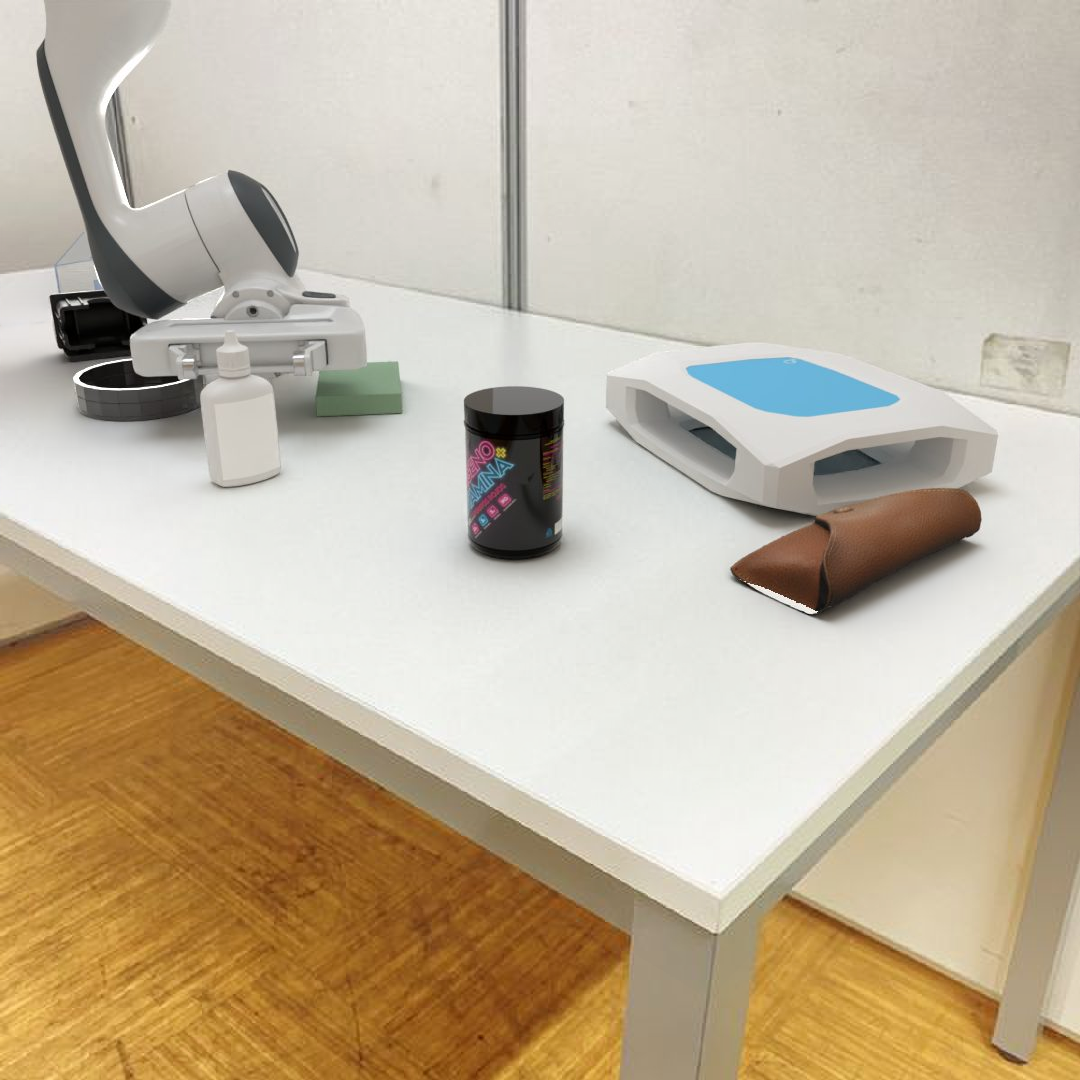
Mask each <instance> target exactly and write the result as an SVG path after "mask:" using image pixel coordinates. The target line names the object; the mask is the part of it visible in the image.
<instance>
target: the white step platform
mask: <svg viewBox="0 0 1080 1080" xmlns="http://www.w3.org/2000/svg"><path fill="white" fill-rule="evenodd" d="M605 389H606V390H605V392H606V393H605V408H606V410H608V412H609V413H610V414H611V415H612V416H613V417H614V419H616V421H617V422H618V423H619V424H620V426H622V428H623V429H624V430H625V432H627V433H628V434H629V435H630V437H631V438H632V439H633V440H634V441H635V442H636V443H637V444H639V445H640V446H642V447H644V448H645V449H646V450H648V451H649V452H650V453H652V454H654V455H656V456H657V457H658V458H660V459H662V460H663V461H665V462H666V463H668V464H669V465H671V466H672V467H673V468H675V469H677V470H678V471H680V472H681V473H683V474H684V475H686V476H688V477H689V478H691V479H692V480H694V481H695V482H696V483H699V484H700V485H701V486H702V487H704V488H706V489H707V490H708V491H710V492H713V493H714V494H717V495H719V496H722V497H726V498H730V499H734V500H738V501H742V502H746V503H750V504H754V505H759V506H764V507H768V508H773V509H777V510H783V511H786V512H787V511H788V512H793V513H798V514H802V515H809V516H814V517H816V516H818V515H821V514H824V513H827V512H829V511H831V510H834V509H836V508H839V507H842V506H845V505H849V504H853V503H858V502H863V501H866V500H870V499H874V498H878V497H880V496H885V495H889V494H894V493H899V492H904V491H910V490H918V489H930V488H958V489H961V488H962V487H964V486H966V485H969V484H971V483H973V482H975V481H976V480H978V479H981V478H983V477H985V476H987V475H989V474H991V473H993V468H994V461H995V455H996V449H997V444H998V437H999V434H998V430H997V429H995V428H994V427H993V426H991V425H990V424H988V423H987V422H986V421H984V420H983V419H981V418H980V417H979V416H978V415H976V414H974V413H973V412H972V411H971V410H969V409H968V408H967V407H965V406H964V405H962V404H961V403H960V402H958V401H957V400H955V399H954V398H953V397H951V396H950V395H949V394H948V393H946V392H944V391H943V390H939V389H936V388H934V387H932V386H929V385H927V384H924V383H921V382H918V381H916V380H913V379H911V378H908V377H906V376H903V375H900V374H898V373H895V372H892V371H889V370H887V369H884V368H881V367H878V366H877V365H874V364H870V363H868V362H866V361H863V360H860V359H858V358H855V357H853V356H849V355H847V354H843V353H839V352H834V351H827V350H821V349H820V350H819V349H813V348H806V347H798V346H791V345H784V344H777V343H770V342H763V341H762V342H761V341H754V342H753V341H752V342H742V343H730V344H720V345H712V346H700V347H693V348H682V349H672V350H663V351H655V352H653V353H650V354H648V355H646V356H643V357H640V358H638V359H636V360H633V361H631V362H628V363H626V364H624V365H622V366H619V367H617V368H615V369H612V370H609V371H608V373H607V374H606V388H605ZM707 427H709V428H711V429H712V430H713V431H715V432H716V433H717V434H718V435H719V436H721V437H722V438H723V439H724V440H726V442H728V443H729V444H731V445H732V447H734V448H735V449H736V451H735V458H733V457H731V456H730V455H727V454H726V453H725V452H723V451H721V450H720V449H718V448H716V447H714V446H712V445H711V444H709V443H708V442H706V441H704V440H703V439H701V438H699V437H698V436H696V435H695V434H693V432H690V431H692V430H695V429H701V428H707ZM854 450H858V451H860V452H862V453H863V454H865V455H867V456H868V457H870V458H872V459H873V460H875V461H876V462H878V463H879V464H878V463H877V464H875V465H871V466H866V467H864V468H859V469H853V470H846V471H840V472H834V473H828V474H818V475H817V474H816V475H814V474H815V473H814V472H815V462H819V461H821V460H824V459H826V458H830V457H832V456H836V455H839V454H841V453H844V452H847V451H848V452H849V451H854Z"/></svg>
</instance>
